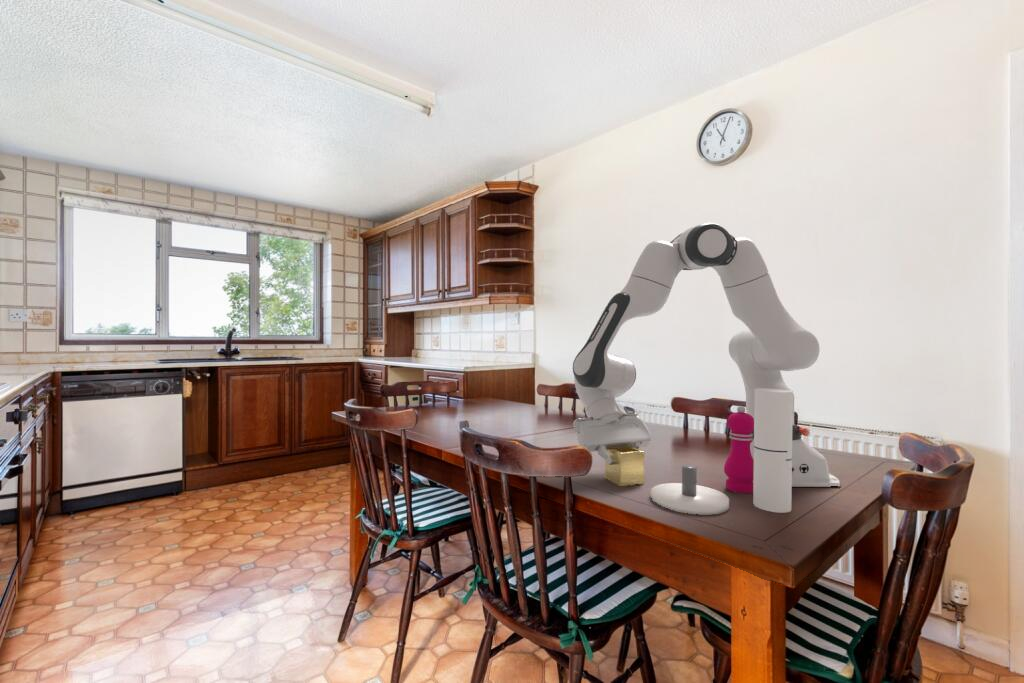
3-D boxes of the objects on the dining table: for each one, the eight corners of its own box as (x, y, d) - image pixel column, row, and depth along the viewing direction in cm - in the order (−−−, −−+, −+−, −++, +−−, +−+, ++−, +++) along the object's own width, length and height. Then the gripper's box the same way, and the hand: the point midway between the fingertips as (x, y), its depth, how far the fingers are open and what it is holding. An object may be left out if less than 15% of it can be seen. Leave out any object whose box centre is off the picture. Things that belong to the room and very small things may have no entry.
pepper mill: (753, 486, 113) (754, 404, 113) (760, 495, 106) (761, 408, 106) (721, 483, 115) (722, 403, 115) (726, 492, 108) (727, 407, 108)
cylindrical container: (746, 500, 102) (747, 388, 102) (777, 500, 103) (778, 388, 103) (766, 513, 95) (767, 392, 95) (799, 512, 96) (800, 392, 96)
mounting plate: (717, 491, 108) (717, 459, 108) (739, 517, 93) (739, 480, 93) (646, 487, 111) (647, 456, 111) (656, 511, 95) (657, 475, 95)
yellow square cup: (605, 478, 118) (605, 447, 118) (627, 476, 120) (628, 445, 120) (620, 486, 111) (620, 453, 111) (643, 483, 114) (644, 451, 114)
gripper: (575, 411, 119) (594, 459, 109) (641, 408, 126) (664, 452, 117) (566, 425, 123) (584, 472, 114) (631, 421, 130) (653, 465, 121)
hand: (626, 462), depth 115 cm, fingers closed on yellow square cup, 7 cm apart
